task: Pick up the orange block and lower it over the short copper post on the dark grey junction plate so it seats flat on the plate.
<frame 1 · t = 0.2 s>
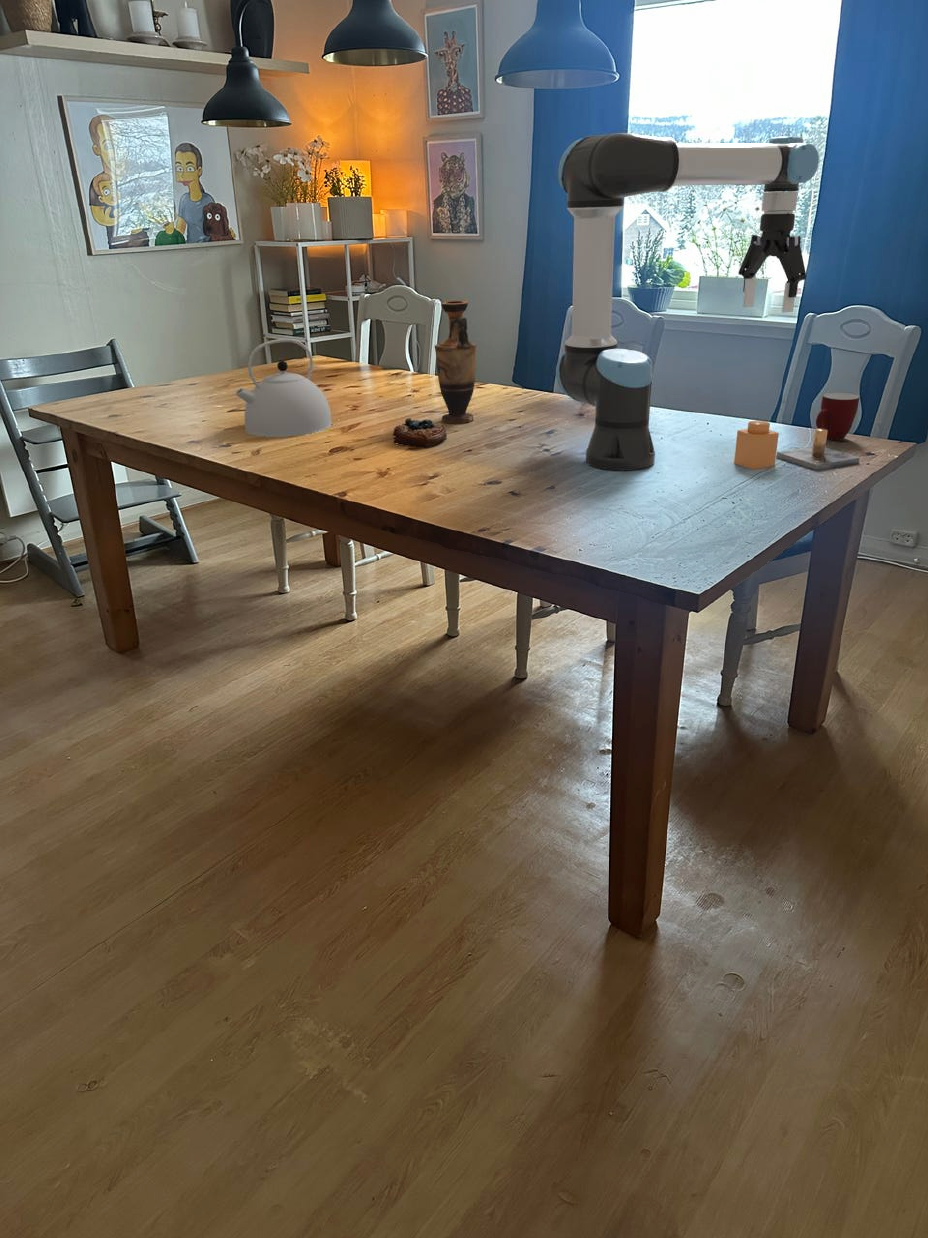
hand: (767, 309, 215), 28 cm above the table, fingers open, 13 cm apart
kettle: (285, 428, 237), on the table
mug: (831, 440, 212), on the table
orange block: (754, 464, 194), on the table
pastry: (421, 443, 220), on the table
junction plate: (817, 460, 196), on the table
vase: (457, 421, 239), on the table
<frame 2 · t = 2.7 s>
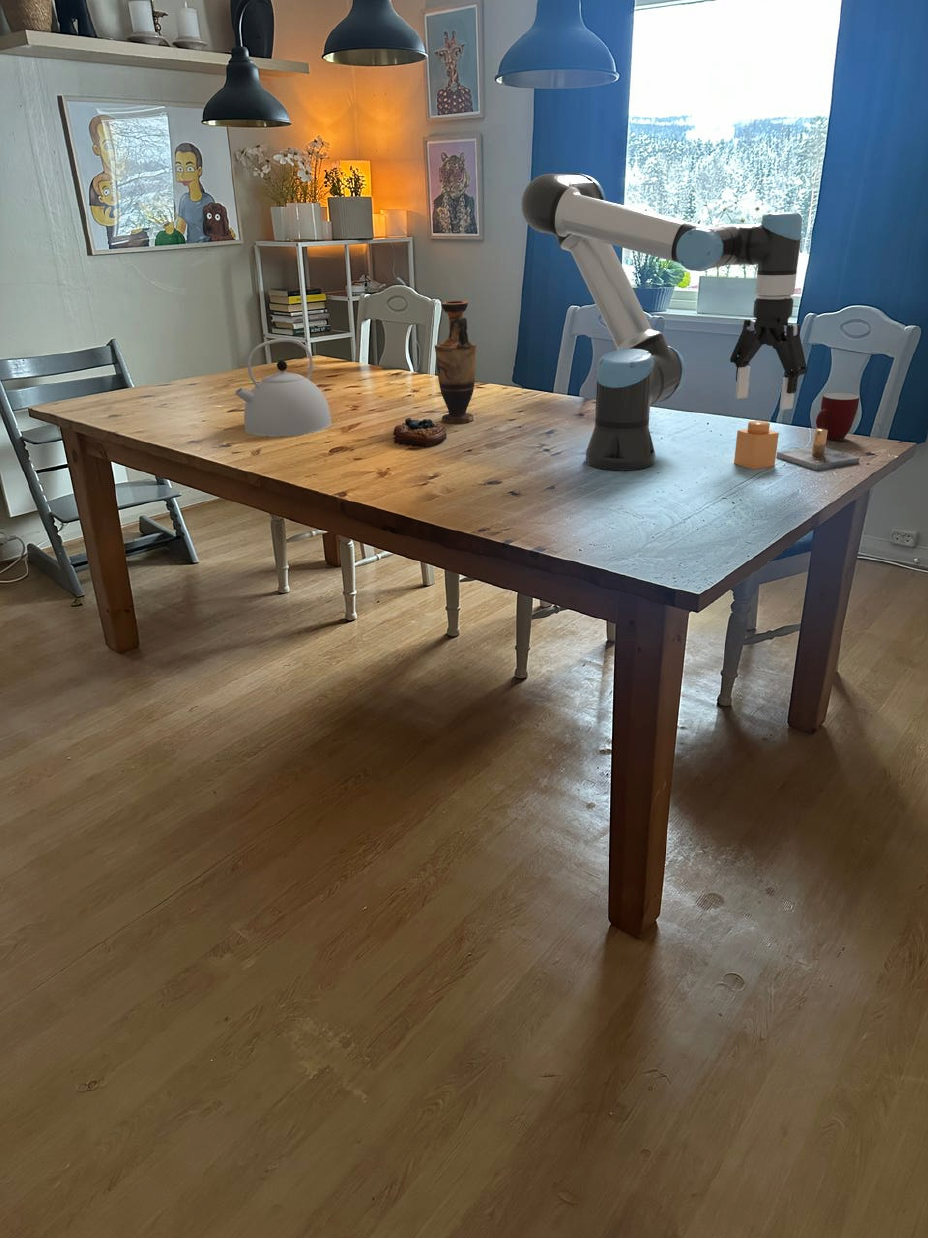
hand: (762, 403, 189), 13 cm above the table, fingers open, 13 cm apart
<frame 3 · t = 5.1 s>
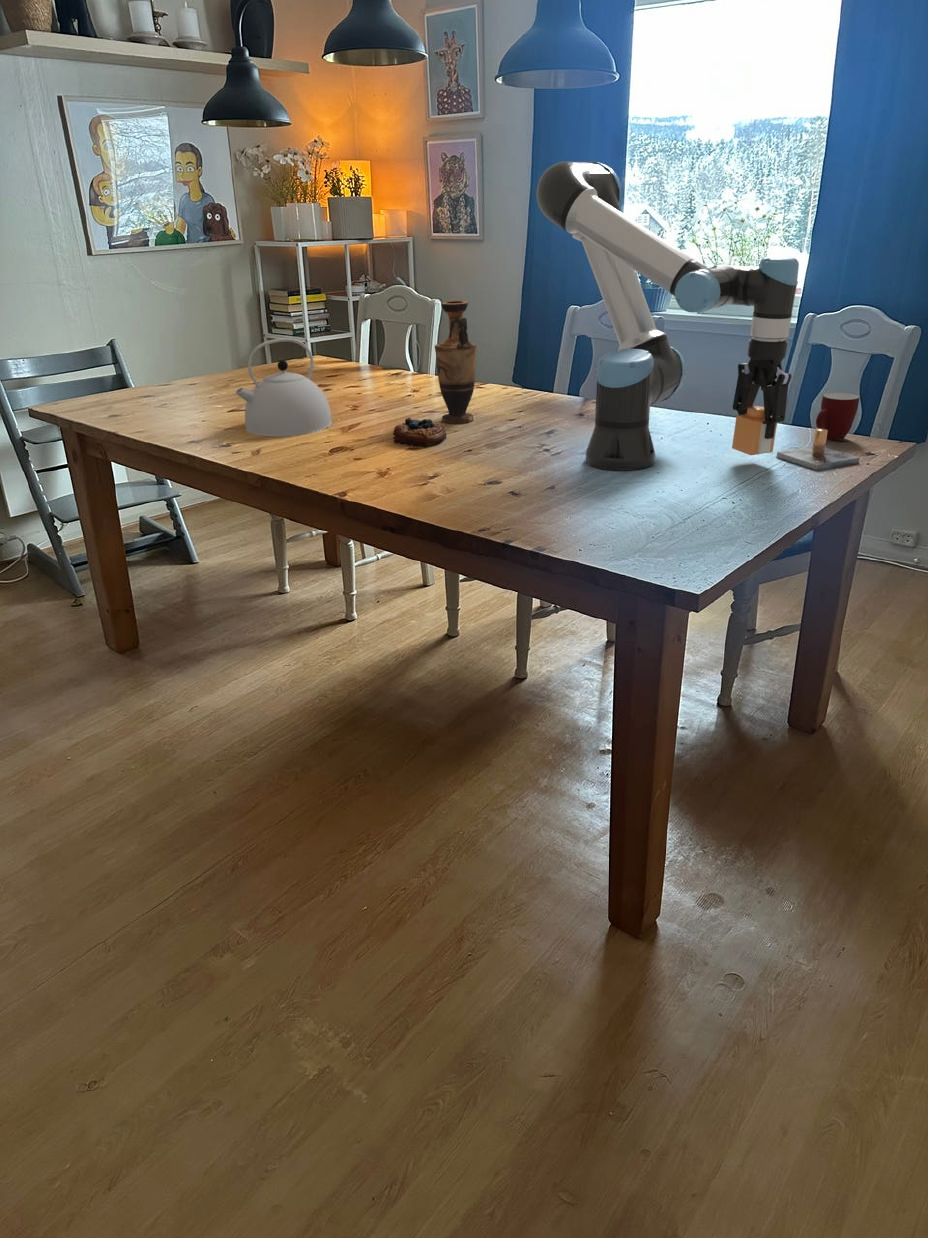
hand: (752, 448, 193), 3 cm above the table, fingers closed on orange block, 6 cm apart
orange block: (752, 450, 193), point 3 cm above the table, touching gripper
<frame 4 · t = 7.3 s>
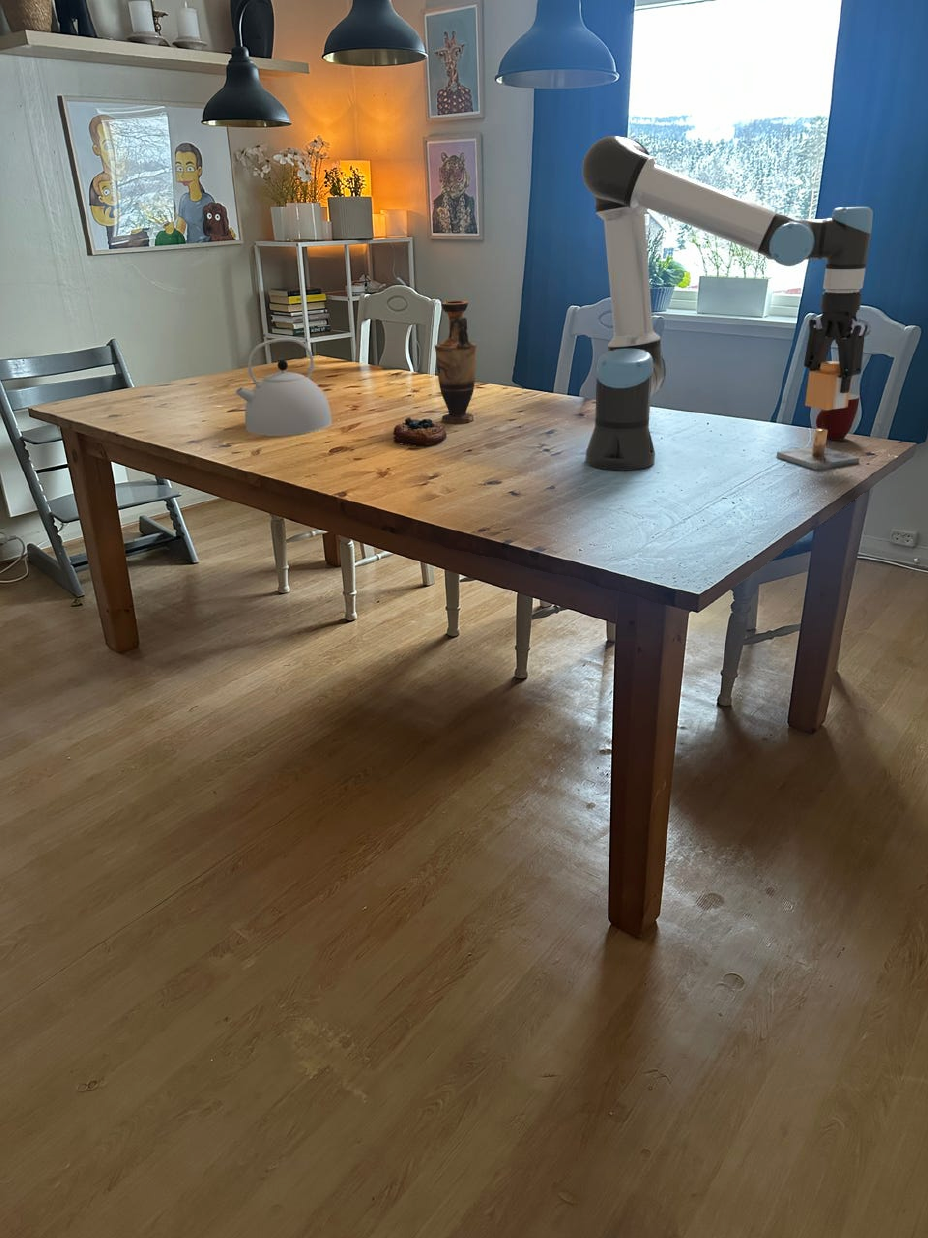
hand: (826, 405, 191), 12 cm above the table, fingers closed on orange block, 6 cm apart
orange block: (826, 406, 191), point 12 cm above the table, touching gripper
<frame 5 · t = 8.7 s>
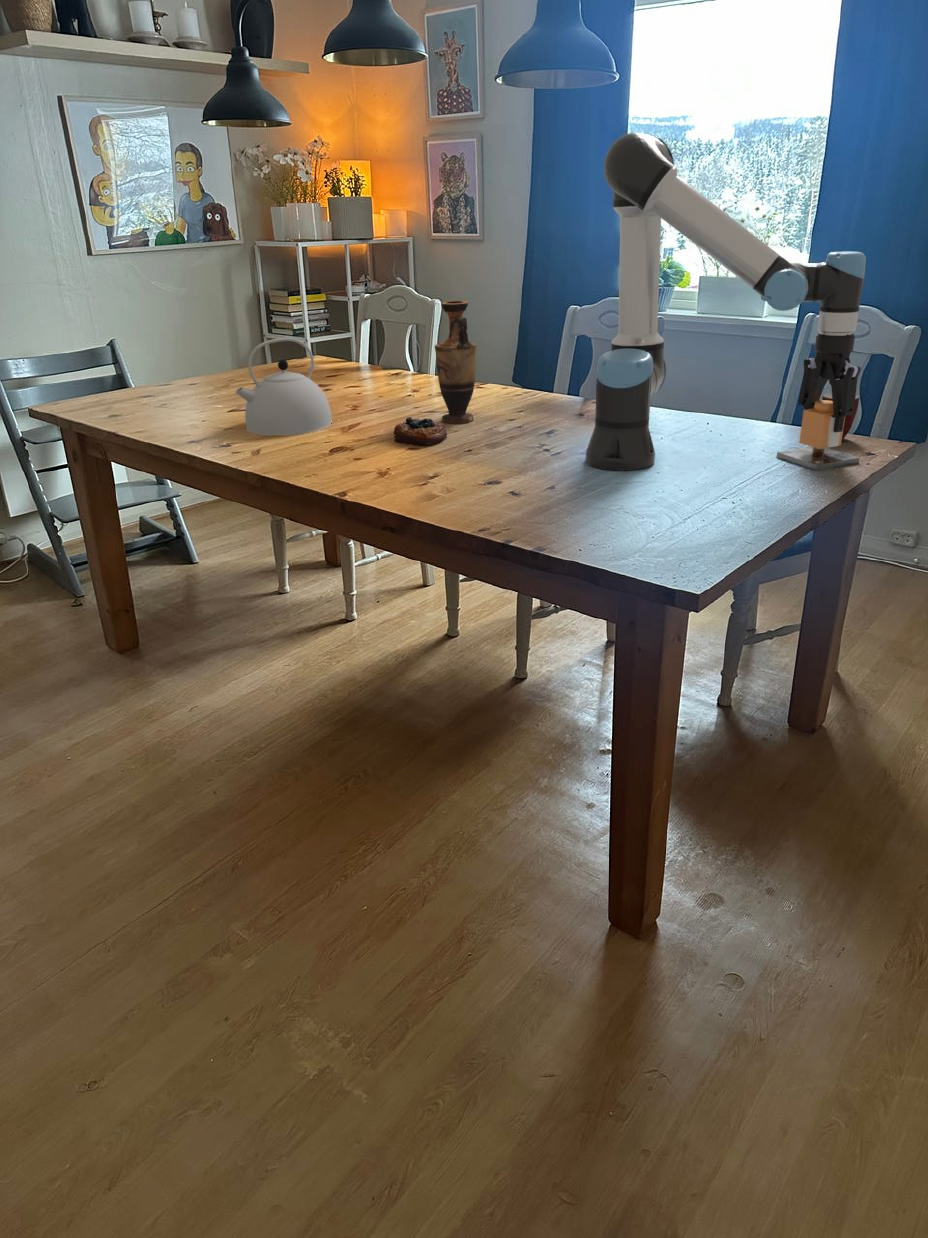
hand: (820, 442, 194), 4 cm above the table, fingers closed on orange block, 6 cm apart
orange block: (819, 443, 195), point 4 cm above the table, touching gripper
when the fingers open (2 cm above the table, at t = 9.8 s): orange block stays where it is, resting on junction plate.
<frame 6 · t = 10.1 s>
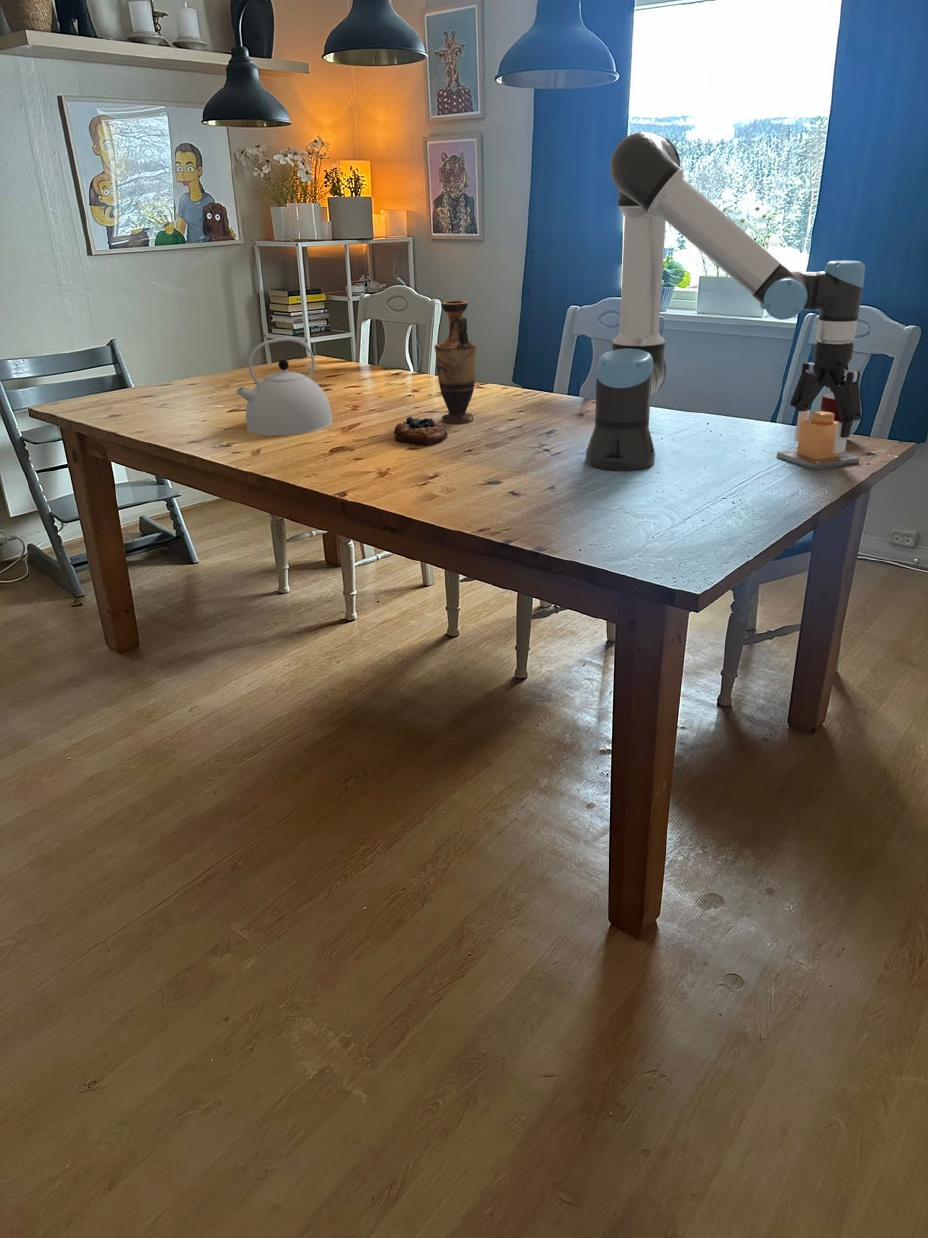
hand: (819, 445, 195), 3 cm above the table, fingers open, 10 cm apart
orange block: (817, 454, 196), point 1 cm above the table, touching junction plate
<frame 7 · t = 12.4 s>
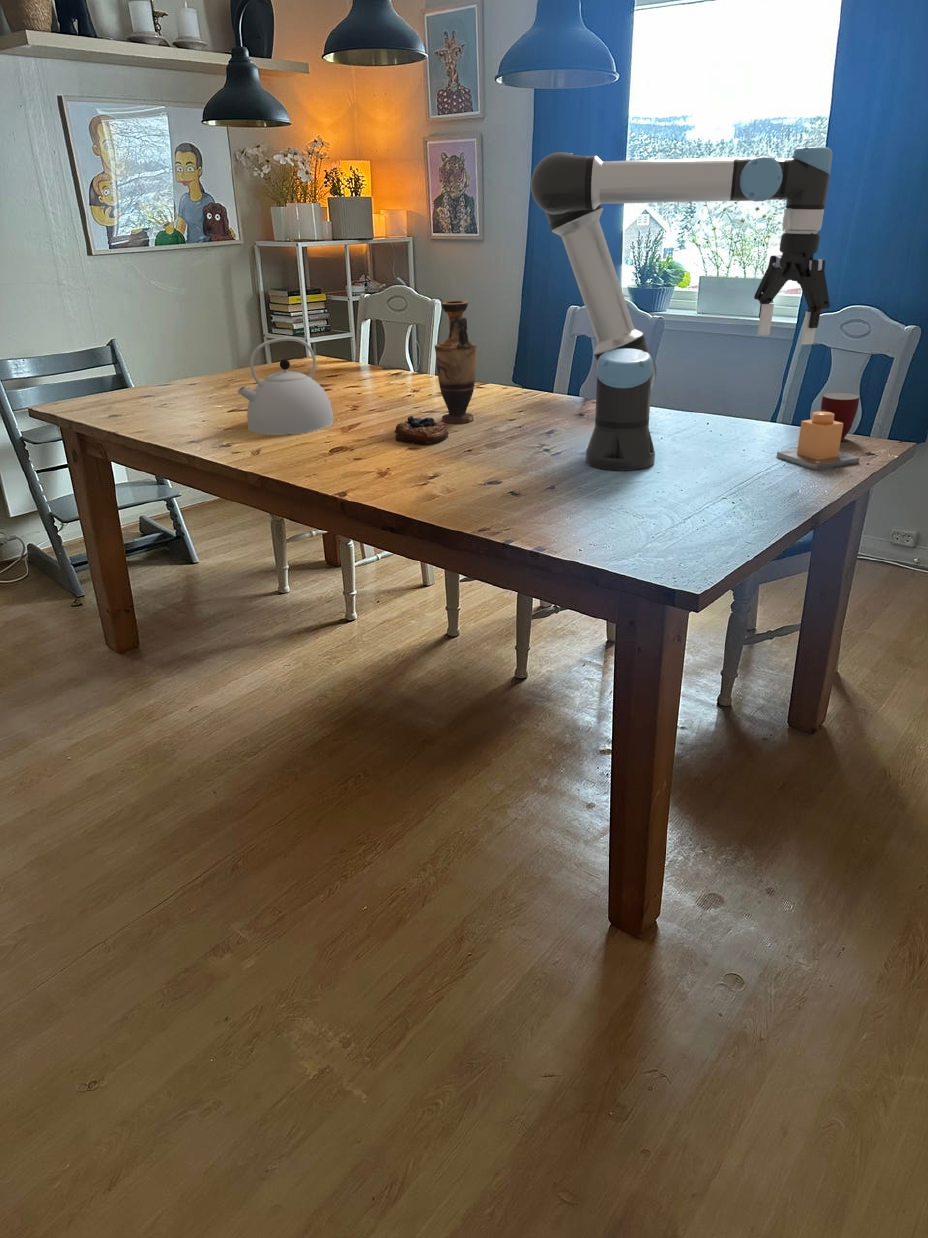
hand: (784, 339, 192), 25 cm above the table, fingers open, 13 cm apart
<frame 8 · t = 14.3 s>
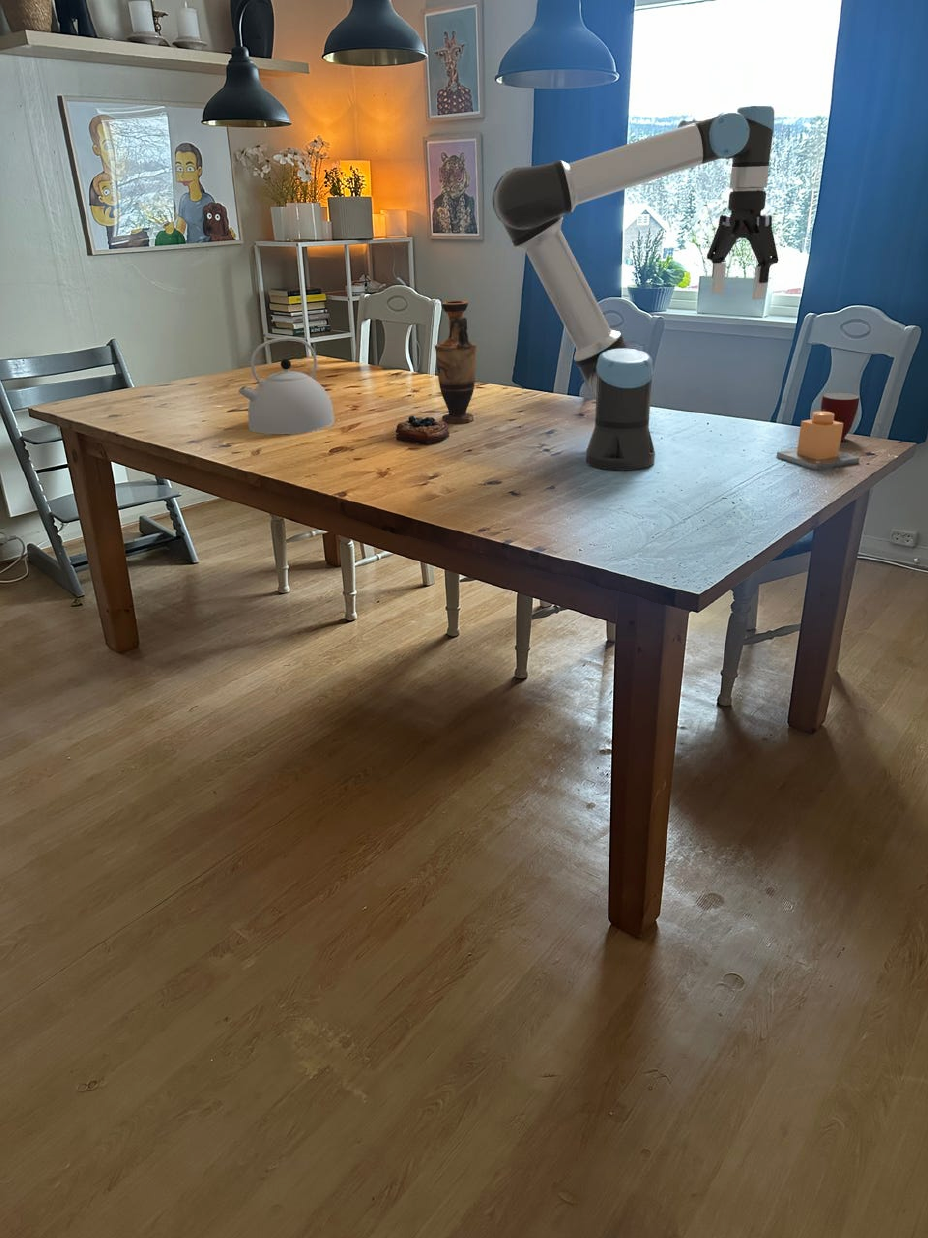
hand: (737, 296, 197), 33 cm above the table, fingers open, 13 cm apart
at the end: orange block 0.1 cm off-centre on the junction plate, point 1.2 cm above the junction plate's base; orange block tilted 0°; the gripper is holding nothing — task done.
